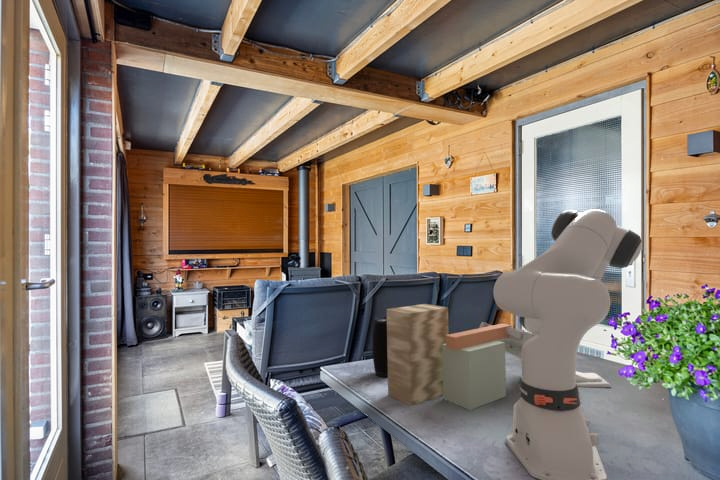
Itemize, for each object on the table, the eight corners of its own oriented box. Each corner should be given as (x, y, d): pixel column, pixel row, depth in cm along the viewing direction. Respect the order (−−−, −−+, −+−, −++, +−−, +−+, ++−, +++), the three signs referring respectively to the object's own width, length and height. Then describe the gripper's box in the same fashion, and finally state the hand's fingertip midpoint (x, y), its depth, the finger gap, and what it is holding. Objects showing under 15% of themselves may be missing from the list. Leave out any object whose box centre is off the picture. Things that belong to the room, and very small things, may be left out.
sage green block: (478, 386, 128) (477, 336, 128) (506, 396, 119) (505, 342, 119) (443, 398, 118) (442, 344, 119) (470, 409, 110) (468, 351, 110)
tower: (426, 383, 131) (425, 303, 131) (449, 392, 123) (448, 307, 123) (388, 394, 122) (386, 309, 122) (410, 405, 114) (408, 313, 114)
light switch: (555, 366, 138) (596, 365, 136) (556, 378, 138) (597, 377, 136) (566, 377, 127) (610, 376, 125) (567, 390, 127) (611, 389, 125)
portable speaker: (400, 378, 137) (399, 320, 137) (373, 378, 137) (371, 320, 137) (398, 370, 146) (397, 315, 146) (372, 370, 146) (371, 316, 146)
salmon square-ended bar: (502, 334, 130) (502, 323, 130) (511, 336, 127) (511, 325, 127) (445, 347, 115) (445, 335, 115) (455, 350, 112) (454, 337, 112)
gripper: (546, 359, 122) (522, 343, 115) (490, 346, 139) (466, 330, 132) (551, 340, 124) (528, 322, 117) (495, 329, 141) (472, 313, 134)
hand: (495, 326), depth 125 cm, fingers open, 8 cm apart
